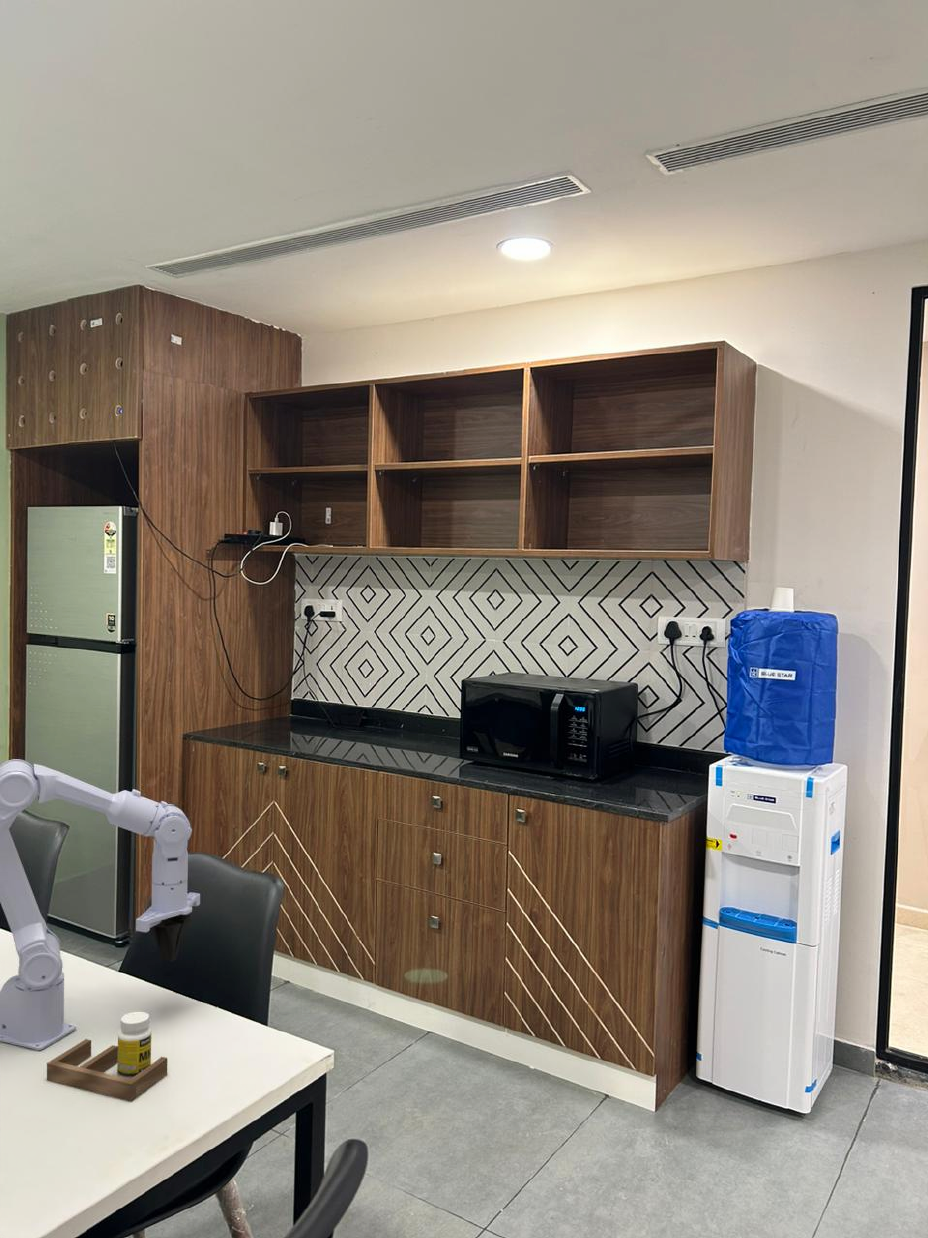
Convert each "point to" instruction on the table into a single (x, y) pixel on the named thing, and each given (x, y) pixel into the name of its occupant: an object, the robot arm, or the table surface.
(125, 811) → the robot arm
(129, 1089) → the frame
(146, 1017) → the supplement bottle
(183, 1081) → the table surface
